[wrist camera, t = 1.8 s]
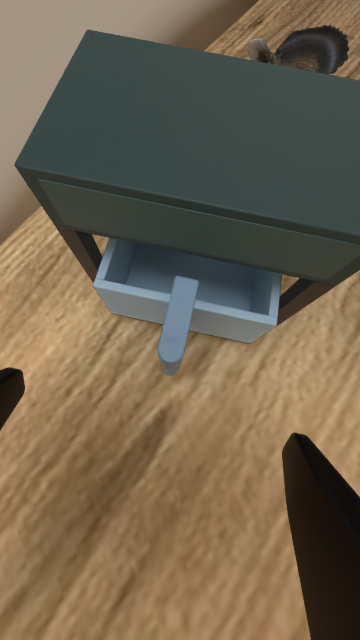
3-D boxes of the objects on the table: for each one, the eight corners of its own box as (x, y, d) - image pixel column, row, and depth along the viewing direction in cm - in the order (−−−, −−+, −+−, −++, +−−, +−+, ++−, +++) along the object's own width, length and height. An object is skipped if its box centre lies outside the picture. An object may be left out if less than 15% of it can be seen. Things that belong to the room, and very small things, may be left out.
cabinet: (275, 328, 22) (400, 245, 10) (96, 289, 22) (12, 165, 10) (285, 236, 25) (391, 85, 13) (126, 203, 25) (86, 28, 13)
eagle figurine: (276, 127, 27) (350, 86, 27) (268, 34, 23) (358, -16, 22) (241, 125, 33) (302, 90, 33) (229, 50, 28) (300, 9, 28)
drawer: (243, 395, 20) (304, 393, 11) (95, 361, 20) (35, 332, 11) (264, 243, 24) (320, 149, 15) (141, 217, 24) (124, 111, 15)
